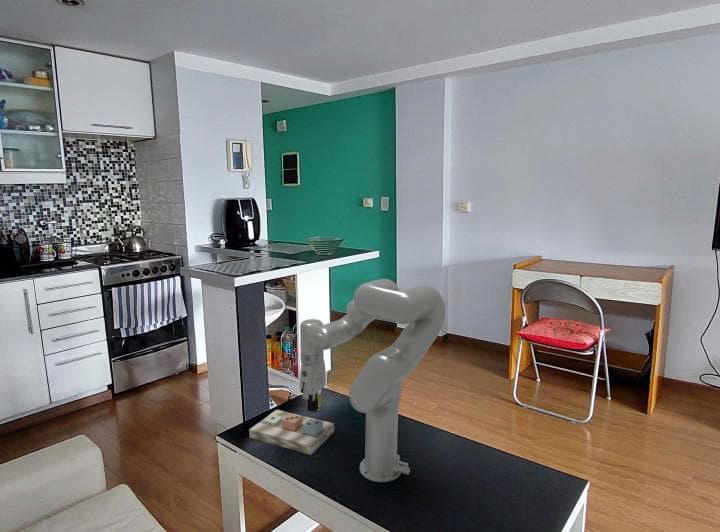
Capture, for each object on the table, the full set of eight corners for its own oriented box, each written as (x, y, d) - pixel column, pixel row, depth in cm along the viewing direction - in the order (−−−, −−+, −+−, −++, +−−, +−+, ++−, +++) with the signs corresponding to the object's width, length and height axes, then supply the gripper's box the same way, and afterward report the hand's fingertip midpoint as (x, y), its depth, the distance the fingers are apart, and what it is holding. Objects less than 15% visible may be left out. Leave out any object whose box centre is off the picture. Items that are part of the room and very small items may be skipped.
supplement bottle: (322, 405, 179) (322, 382, 178) (319, 412, 174) (319, 388, 173) (308, 405, 180) (308, 381, 178) (305, 411, 175) (305, 387, 173)
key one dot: (283, 424, 162) (283, 416, 162) (274, 431, 158) (274, 422, 157) (271, 421, 164) (271, 413, 164) (262, 428, 160) (262, 419, 159)
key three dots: (302, 424, 159) (302, 416, 158) (294, 431, 154) (294, 422, 154) (290, 421, 161) (290, 413, 160) (282, 428, 156) (282, 419, 156)
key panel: (334, 431, 160) (334, 423, 160) (311, 454, 146) (311, 446, 145) (276, 417, 170) (276, 409, 169) (249, 437, 155) (249, 429, 155)
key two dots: (322, 429, 155) (322, 421, 155) (315, 436, 151) (315, 427, 150) (310, 426, 157) (310, 417, 157) (302, 433, 153) (302, 424, 152)
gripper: (310, 366, 142) (311, 422, 145) (332, 352, 155) (333, 403, 158) (289, 363, 145) (290, 417, 148) (313, 349, 158) (314, 399, 161)
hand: (312, 410), depth 153 cm, fingers closed
